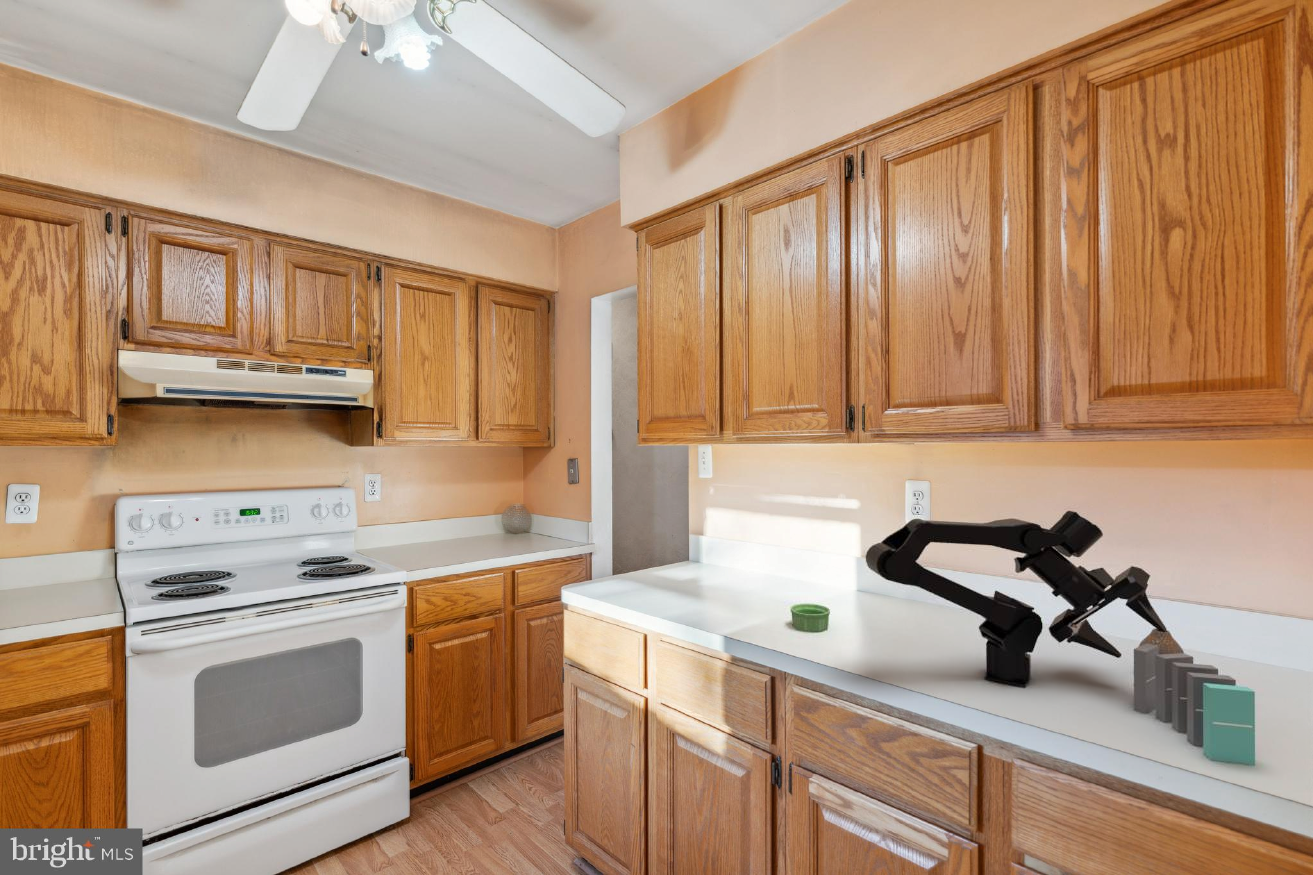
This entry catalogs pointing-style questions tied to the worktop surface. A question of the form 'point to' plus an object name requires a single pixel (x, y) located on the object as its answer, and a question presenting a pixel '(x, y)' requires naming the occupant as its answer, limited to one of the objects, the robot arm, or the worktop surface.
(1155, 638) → the vase
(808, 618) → the ramekin
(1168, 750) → the worktop surface
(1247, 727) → the domino
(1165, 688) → the domino
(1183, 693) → the domino
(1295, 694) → the worktop surface
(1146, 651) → the domino
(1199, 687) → the domino
